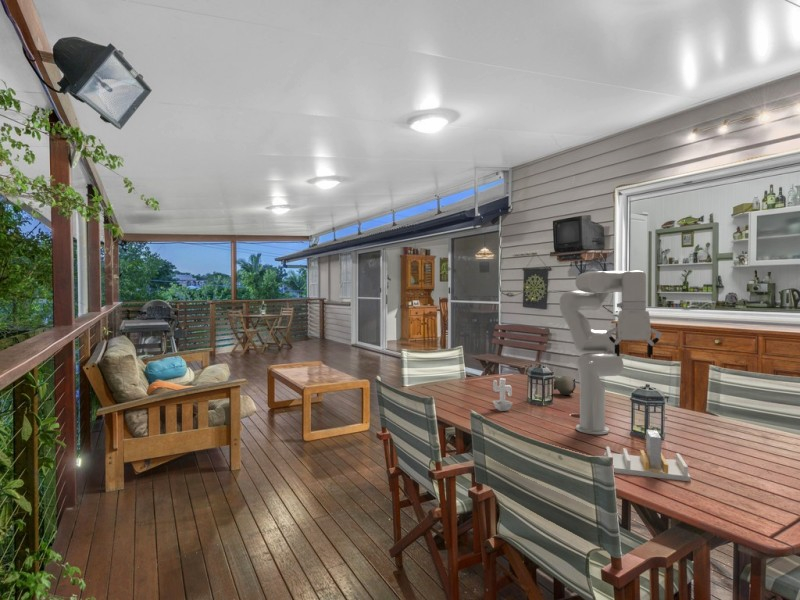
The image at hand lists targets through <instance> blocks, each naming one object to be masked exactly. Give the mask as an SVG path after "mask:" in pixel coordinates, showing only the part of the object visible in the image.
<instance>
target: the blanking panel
mask: <svg viewBox="0 0 800 600" xmlns="http://www.w3.org/2000/svg"><path fill="white" fill-rule="evenodd" d="M645 435H646V441H645V443H646V445H645V446H646V447H645V449H646V450H645V451H646V453H645V454H646V457H647V459H648V461H649V467H650V469H658V470H661V452H662V437H661V435H660V434H659V432H658V430H657V429H655V430H654V429H646V431H645Z"/></svg>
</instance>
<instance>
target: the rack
mask: <svg viewBox="0 0 800 600" xmlns="http://www.w3.org/2000/svg"><path fill="white" fill-rule="evenodd" d="M663 454H664V453H662V451H661V470H658V469H650V467H649V461H648V459H647V457H646V453H645V450H644V449H639V455H632V454H629V453H628V449H627V447H626V448H625V447H623V448H622V454H621V453H614V452H613V453H612V451H611V447H610V446H605V452H604V454H603V455H604V456H608V457H613V465H614V472H615V473H614V474H621V475H622V474H624V475H630V476H639V477H647V478H656V479H657V478H659V479H664V480H666V479H667V480H676V481H684V482H691V478H692V477H691V475H690V473H689V466H688V464H687V463H686V462H685V460H684V458H683V457H682V455H681V453H677V452H676V453H675V459H672V458H671V459H670V458H665V456H664V455H663ZM604 456H603V457H604Z"/></svg>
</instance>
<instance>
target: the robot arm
mask: <svg viewBox="0 0 800 600" xmlns="http://www.w3.org/2000/svg"><path fill="white" fill-rule="evenodd" d="M575 286H576V289H578V290H571V291H566V292H563V293H562V294H561V295H560V298H559V310H560V313H561V315H562V317H563V319H564V321H565V322H566V323H567V326H568V329H569V331H570V335H571V337H572V341H573V344H574V347H575V349H576V351H577V352H579V353H582V354H581V355H579V356H578V358H577V371H578V375H579V376H578V377H579V423H578V424H576V425H575V430H577V431H578V432H580V433H583V434H586V435H587V434H588V435H595V436H596V435H600V436H601V435H607V434H609V433H610V428H609V427H608V426H606V387H605V385H604V383H603V382H602V380H601V377H616V376H617V377H618V376H619V375H622V373H623V371H624V360H623V357H622V355H621V352H620V349H621V348H620V347H621V346H620V342H621V341H622V340H623V341H646V343H647V345H646V356H647V358H651V357H652V356H653V352H654V351H653V350H654V345H655V344H657V343H658V342H659V341H660V339H661V337H662V335H663V333H662V332H661V331H658V330H657V329H654V328H652V326H651V317H650V313H649V311H648V310H647V302H646V301H647V300H646V299H647V275H646V273H645V271H643V270H608V271H603V270H599V271H587V272H582V273H580V274H579V275H578V276H577V277H576V279H575ZM611 293H621V301H620V302H619V303H616V308H619V309H621V310H619V312H618V317H617V326H616V327H613V328H611V329H608V330H603V329H592V327H591V323H590V321H589V319H588V318H587V317H586V316H585V315H584V314H582V313H581V312H580V311H598V310H600V309H601V308H602V307H603V306H604V305H605V302H606V301H607V299H608V298H609V296H610V294H611ZM615 332H616V336H617V337H616V338H615V337H614V335H613V333H615ZM651 333H653V334H655V337H654V338H652V339H651V337H652V334H651Z"/></svg>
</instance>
